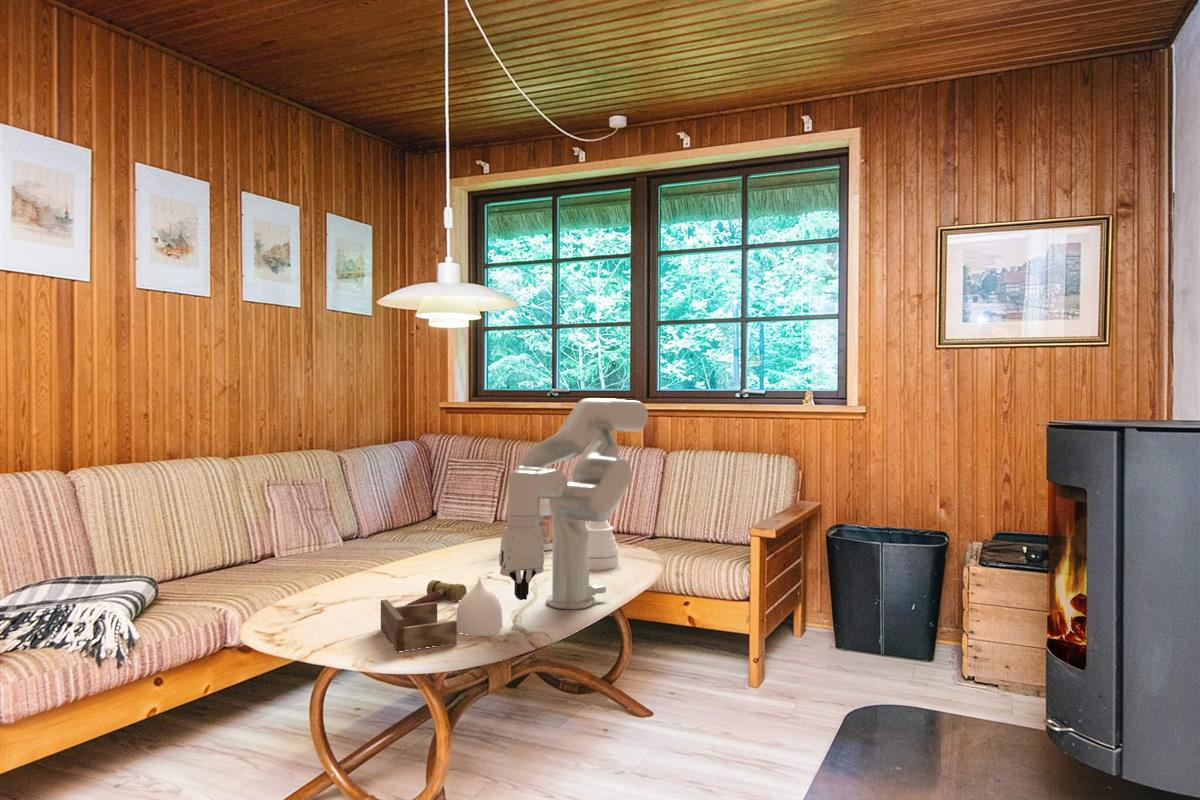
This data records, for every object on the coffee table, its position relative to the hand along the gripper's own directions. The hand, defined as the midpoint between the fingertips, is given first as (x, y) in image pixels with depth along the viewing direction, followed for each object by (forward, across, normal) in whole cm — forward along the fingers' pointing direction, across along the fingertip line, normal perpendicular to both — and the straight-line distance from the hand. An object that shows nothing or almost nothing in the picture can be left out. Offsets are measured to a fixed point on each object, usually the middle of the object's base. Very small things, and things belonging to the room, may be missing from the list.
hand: (521, 598), depth 189 cm
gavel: (+7, +16, -24) cm, 30 cm away
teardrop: (+6, +10, -1) cm, 12 cm away
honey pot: (+4, -44, -46) cm, 64 cm away
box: (+7, +25, -1) cm, 25 cm away
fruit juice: (+4, -37, -76) cm, 85 cm away
